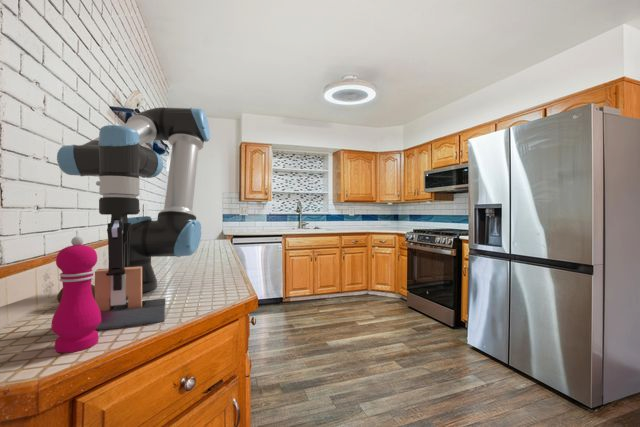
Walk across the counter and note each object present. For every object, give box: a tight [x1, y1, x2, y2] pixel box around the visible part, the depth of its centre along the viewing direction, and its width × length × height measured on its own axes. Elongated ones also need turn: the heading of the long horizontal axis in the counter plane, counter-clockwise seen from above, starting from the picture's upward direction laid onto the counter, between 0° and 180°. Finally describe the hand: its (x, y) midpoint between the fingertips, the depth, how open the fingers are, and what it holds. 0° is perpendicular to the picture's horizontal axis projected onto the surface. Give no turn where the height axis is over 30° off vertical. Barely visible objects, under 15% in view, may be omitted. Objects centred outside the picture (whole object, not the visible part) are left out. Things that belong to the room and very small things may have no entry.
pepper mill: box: [50, 236, 101, 354], centre depth 57 cm, size 7×7×20 cm
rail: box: [95, 297, 166, 331], centre depth 69 cm, size 7×18×4 cm, turn 115°
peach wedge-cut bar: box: [94, 266, 143, 311], centre depth 69 cm, size 3×8×10 cm, turn 115°
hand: (119, 302), depth 69 cm, fingers closed on peach wedge-cut bar, 3 cm apart
